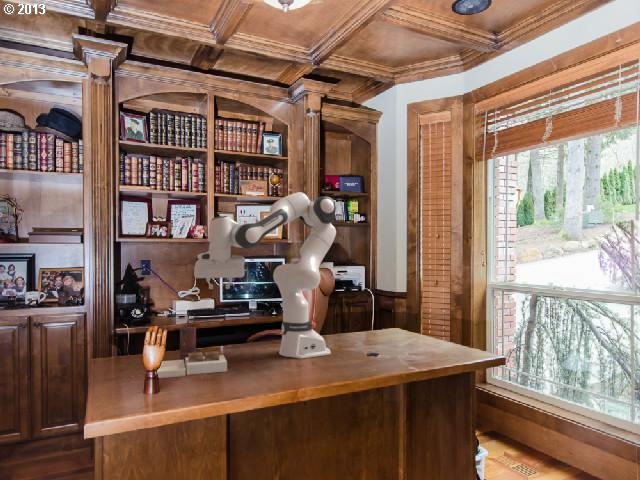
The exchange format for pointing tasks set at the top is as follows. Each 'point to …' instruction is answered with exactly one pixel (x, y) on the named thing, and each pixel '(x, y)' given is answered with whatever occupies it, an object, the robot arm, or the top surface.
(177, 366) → the tray
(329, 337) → the top surface
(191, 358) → the tile
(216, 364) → the white holder base
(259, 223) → the robot arm
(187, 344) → the can
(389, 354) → the top surface
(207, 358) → the tile
